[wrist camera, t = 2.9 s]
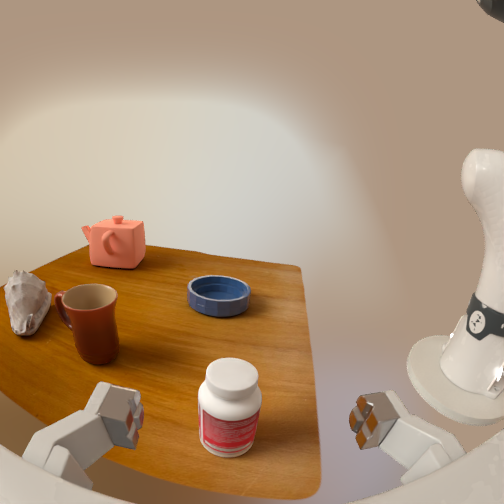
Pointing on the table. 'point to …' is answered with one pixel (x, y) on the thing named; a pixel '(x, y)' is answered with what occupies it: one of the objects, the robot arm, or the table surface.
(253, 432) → the pill bottle
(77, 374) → the table surface
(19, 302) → the seashell
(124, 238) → the teapot
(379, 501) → the robot arm
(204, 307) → the bowl
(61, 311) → the mug
